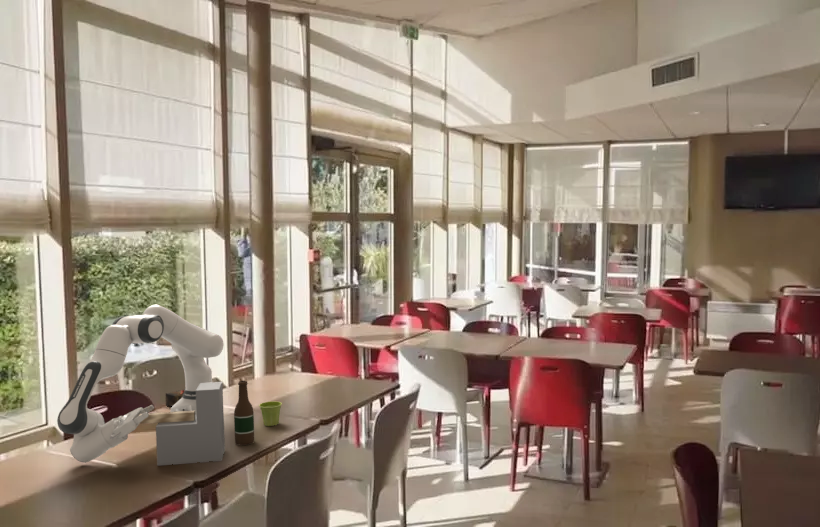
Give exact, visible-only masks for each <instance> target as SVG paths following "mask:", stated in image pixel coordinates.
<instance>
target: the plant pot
mask: <svg viewBox="0 0 820 527" xmlns="http://www.w3.org/2000/svg"><path fill="white" fill-rule="evenodd" d="M282 406H283V403H282V402H280V401H274V400H271V401H266V402H265V401H264V402H262V403H259V405H258V407H259V408H260V410H261V415H262V420H263V425H264V426H265V427H272V426H274V425H275V426H278V425H279V424H280V412H281V407H282ZM277 424H278V425H277Z"/></svg>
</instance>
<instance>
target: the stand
mask: <svg viewBox="0 0 820 527" xmlns="http://www.w3.org/2000/svg"><path fill="white" fill-rule="evenodd" d="M223 389H224V386H223V381H212V382H208V383H200V384H199V386H198V388H197V389H196V410H197V415H195V420H194V421H179V422H163V423H156V426H155V440H156V442H155V443H156V465H157V466H169V465H172V464H173V465H183V464H184V465H185V464H186V465H187V464H196V463H197V462H200V463H210V462H209V461H213V462H222V461H223V457H224V455H223V454H225V451H226V448H225V447H226V445H225V444H226V443H225V441H226V440H225V421H224V420H225V419H224V418H225V416H224V415H225V414H224V413H225V412H224V392H223V391H224V390H223Z"/></svg>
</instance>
